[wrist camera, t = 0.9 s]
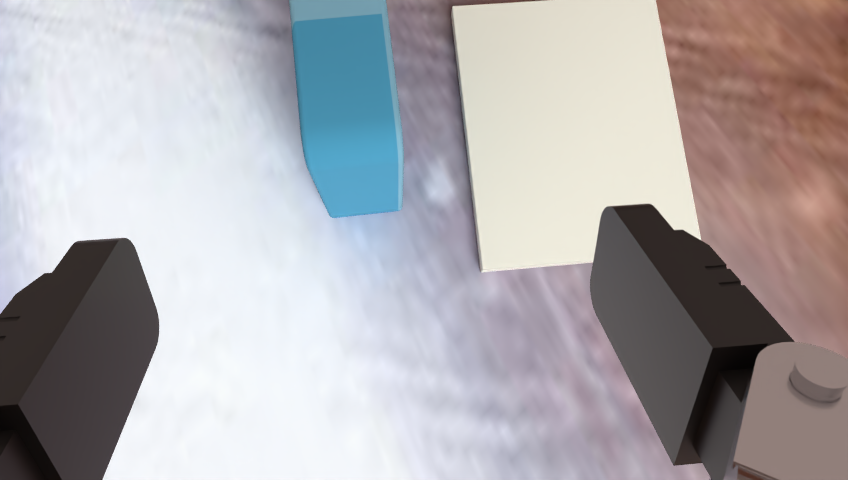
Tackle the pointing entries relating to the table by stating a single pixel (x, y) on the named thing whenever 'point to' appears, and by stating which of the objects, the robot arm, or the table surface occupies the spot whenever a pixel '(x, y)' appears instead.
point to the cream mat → (566, 125)
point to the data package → (348, 104)
